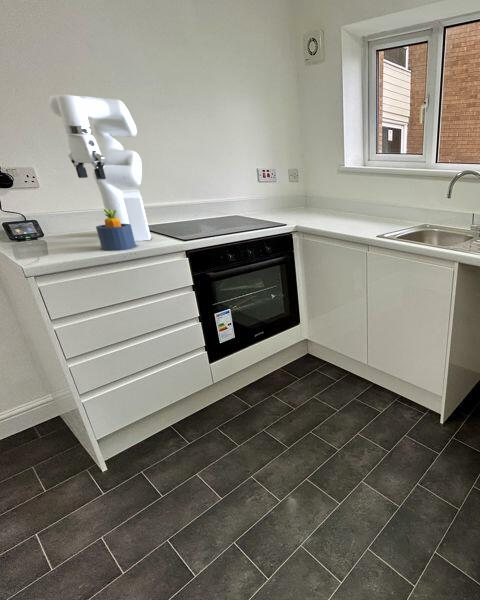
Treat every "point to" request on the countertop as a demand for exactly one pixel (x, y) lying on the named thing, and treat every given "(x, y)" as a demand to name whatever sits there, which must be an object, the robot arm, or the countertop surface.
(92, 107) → the robot arm
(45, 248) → the countertop surface
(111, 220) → the carrot
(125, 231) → the blue faceted cup
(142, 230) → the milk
